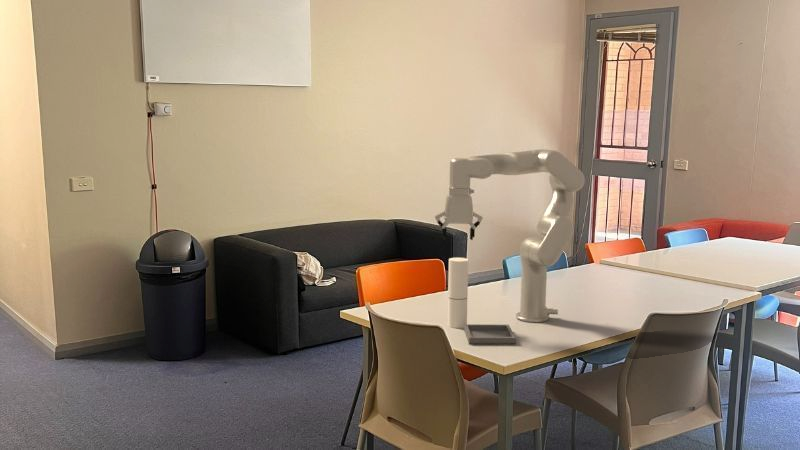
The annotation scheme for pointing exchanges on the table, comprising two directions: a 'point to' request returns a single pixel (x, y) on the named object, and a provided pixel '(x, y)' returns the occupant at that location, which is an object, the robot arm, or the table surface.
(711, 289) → the table surface
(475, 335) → the desk tray
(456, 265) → the cylindrical container
